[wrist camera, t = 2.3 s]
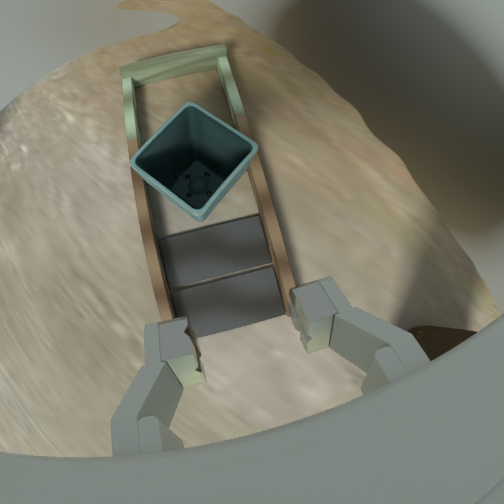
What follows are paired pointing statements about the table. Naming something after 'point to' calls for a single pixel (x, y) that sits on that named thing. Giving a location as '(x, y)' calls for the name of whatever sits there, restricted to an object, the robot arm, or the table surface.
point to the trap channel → (213, 238)
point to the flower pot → (194, 159)
